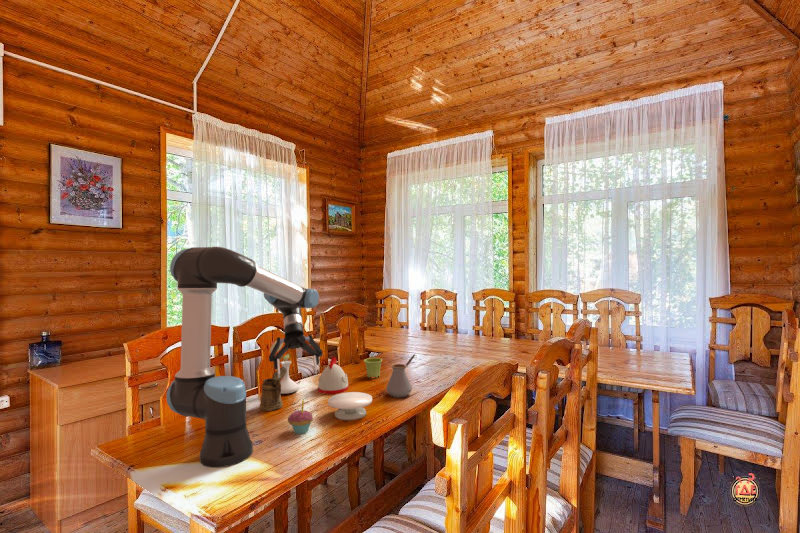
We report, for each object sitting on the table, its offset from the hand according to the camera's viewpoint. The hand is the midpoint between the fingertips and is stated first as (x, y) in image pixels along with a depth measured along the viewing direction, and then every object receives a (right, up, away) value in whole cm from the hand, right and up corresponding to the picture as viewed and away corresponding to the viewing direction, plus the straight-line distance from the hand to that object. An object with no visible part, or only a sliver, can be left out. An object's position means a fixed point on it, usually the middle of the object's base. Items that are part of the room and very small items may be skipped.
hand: (297, 374), depth 155 cm
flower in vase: (-14, -18, +34) cm, 41 cm away
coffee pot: (+41, -17, +32) cm, 54 cm away
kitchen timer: (+7, -17, +38) cm, 42 cm away
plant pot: (+25, -17, +58) cm, 65 cm away
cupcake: (+4, -18, -10) cm, 21 cm away
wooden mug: (-13, -18, +13) cm, 26 cm away
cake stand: (+19, -17, +5) cm, 26 cm away
